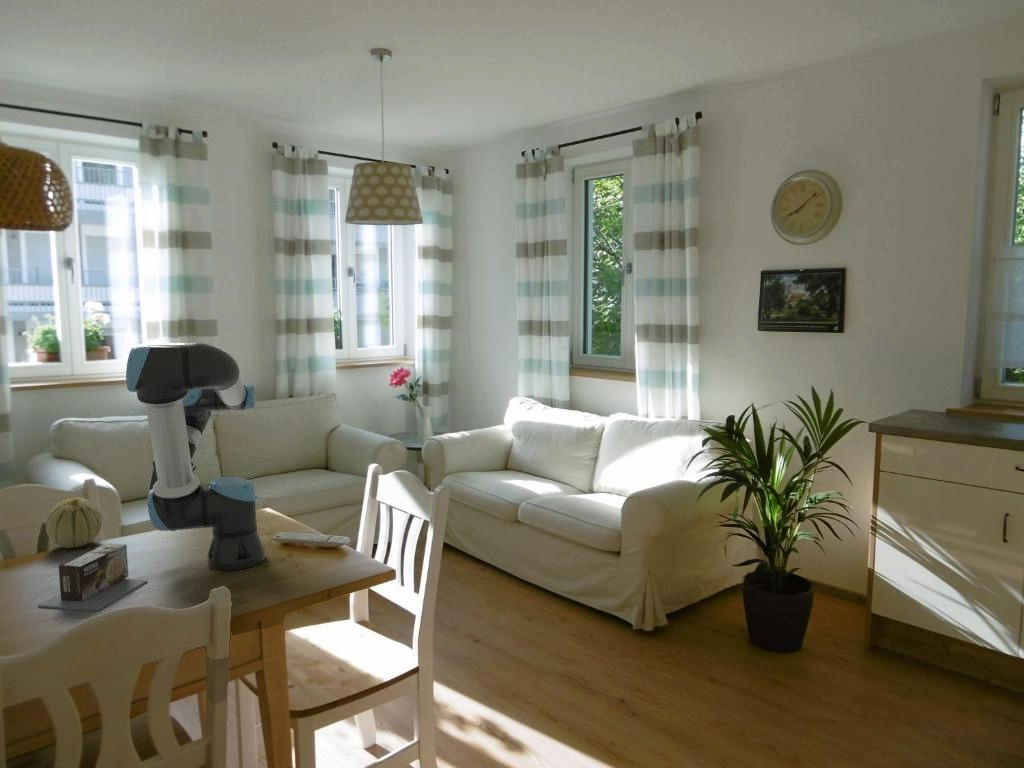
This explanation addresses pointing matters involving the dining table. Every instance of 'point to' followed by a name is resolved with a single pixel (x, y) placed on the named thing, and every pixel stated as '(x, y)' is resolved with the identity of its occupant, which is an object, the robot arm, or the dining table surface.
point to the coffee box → (93, 572)
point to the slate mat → (96, 597)
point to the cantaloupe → (73, 522)
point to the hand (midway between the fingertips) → (152, 514)
